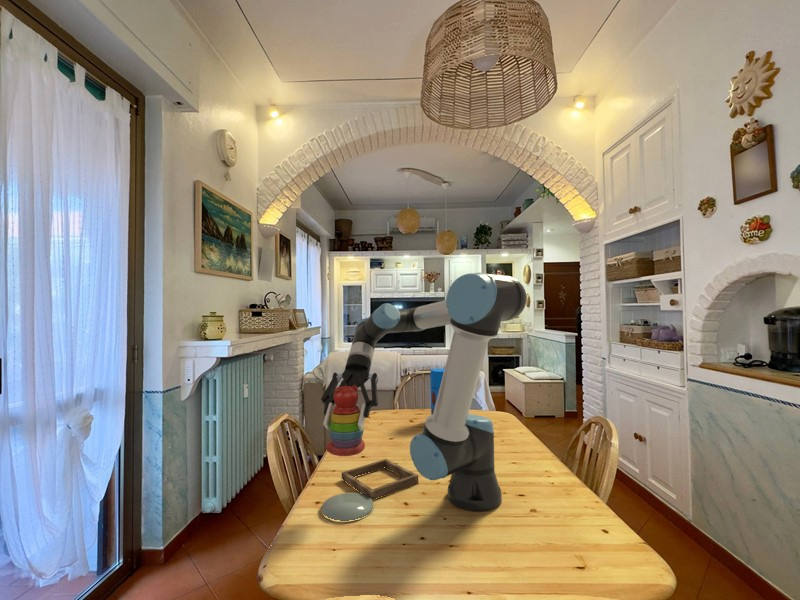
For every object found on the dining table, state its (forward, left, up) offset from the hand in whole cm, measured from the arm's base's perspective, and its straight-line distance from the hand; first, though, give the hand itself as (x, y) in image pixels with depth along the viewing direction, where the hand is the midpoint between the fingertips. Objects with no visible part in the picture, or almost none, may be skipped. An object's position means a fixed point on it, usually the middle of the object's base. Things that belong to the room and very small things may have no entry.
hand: (342, 427), depth 103 cm
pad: (+1, -2, -23) cm, 23 cm away
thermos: (+43, -78, -23) cm, 92 cm away
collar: (+9, -18, -23) cm, 30 cm away
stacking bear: (+2, -2, -8) cm, 8 cm away
